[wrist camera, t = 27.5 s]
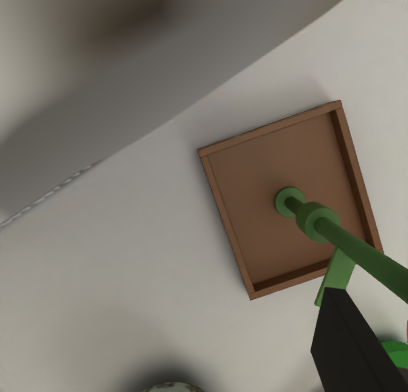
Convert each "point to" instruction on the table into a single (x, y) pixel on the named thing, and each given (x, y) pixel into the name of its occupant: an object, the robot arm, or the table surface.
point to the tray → (283, 177)
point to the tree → (397, 352)
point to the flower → (340, 245)
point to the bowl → (173, 387)
